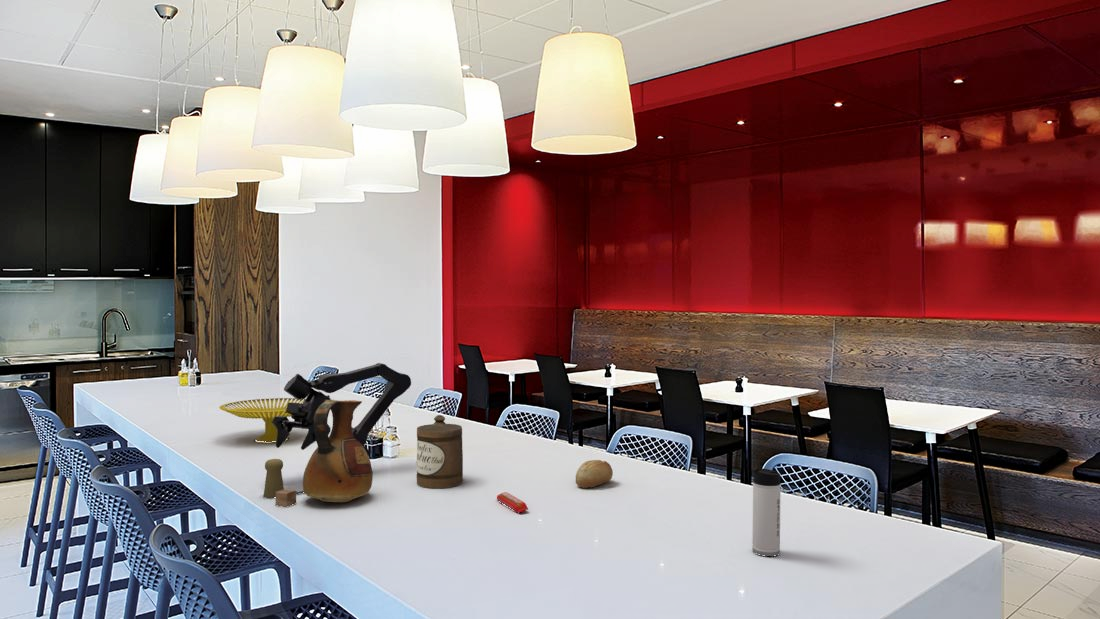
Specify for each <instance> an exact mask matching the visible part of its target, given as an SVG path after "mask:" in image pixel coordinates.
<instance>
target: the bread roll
mask: <svg viewBox="0 0 1100 619" xmlns="http://www.w3.org/2000/svg"><path fill="white" fill-rule="evenodd" d="M613 471H614V470H613V469H612V466H611V465H610V463H609V462H608V461H605V460H604V461H602V460H600V459H591V460H587V461H585V462H583V463H582V464H581V465H580V466H579V467H578V468H577V471H576V473H575V484H576V485H577V487H579V488H580V487H584V488H583V489H589V488H588V487H590V488H593V487H597V486H600V485H602V484H605V483H610V481H611V480H612V479H613Z"/></svg>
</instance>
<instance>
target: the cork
mask: <svg viewBox="0 0 1100 619" xmlns="http://www.w3.org/2000/svg"><path fill="white" fill-rule="evenodd" d="M283 467H284V462H283V460H282V459H280V458H271V459H267V460H266V461H265V463H264V469H265V471H266V476H265V480H264V488H263V496H264V497H266V498H265V499H275V498H274V497H276V492H278V491H281V490H284V487H285V486H284V481H283V474H282V470H283ZM264 497H263V498H264Z"/></svg>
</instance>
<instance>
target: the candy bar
mask: <svg viewBox="0 0 1100 619" xmlns="http://www.w3.org/2000/svg"><path fill="white" fill-rule="evenodd" d="M496 499H497V502H498V501H500V502H501V503H503V504H505V505H506V506H508V507H510V508H511V509H513V510H514V511H516V512H519V513H518V514H521V513H523V512H526V511H527V510H529V507H528V505H527V504H526V502H524V501H523V500H521V499H519V498H518V497H516V496H514V495H513V494H511V493H509V492H507V491H504V492H501V493H499V494H497V495H496ZM500 502H499V503H500ZM501 503H500V504H501ZM503 504H502V505H503ZM506 506H505V507H506ZM511 509H510V510H511ZM514 511H513V512H514ZM516 512H515V513H516ZM520 512H521V513H520Z"/></svg>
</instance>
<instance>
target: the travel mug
mask: <svg viewBox="0 0 1100 619" xmlns="http://www.w3.org/2000/svg"><path fill="white" fill-rule="evenodd" d="M751 472H752V473H753V481H752V484H753V485H752V538H751V539H752V546H751V547H752V548H751V549H752V550H753V551H752V552H753V553H754V552H755V553H757V554H760V555H765V556H774V555H778V554H779V553H781V485H782V484H781V474H780V473H779V472H777V471H775V470H772V469H768V468H761V467H756V468H755V467H753V468H752V469H751ZM755 553H754V554H755ZM757 554H756V555H757ZM779 555H780V554H779ZM779 555H778V556H779Z"/></svg>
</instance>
